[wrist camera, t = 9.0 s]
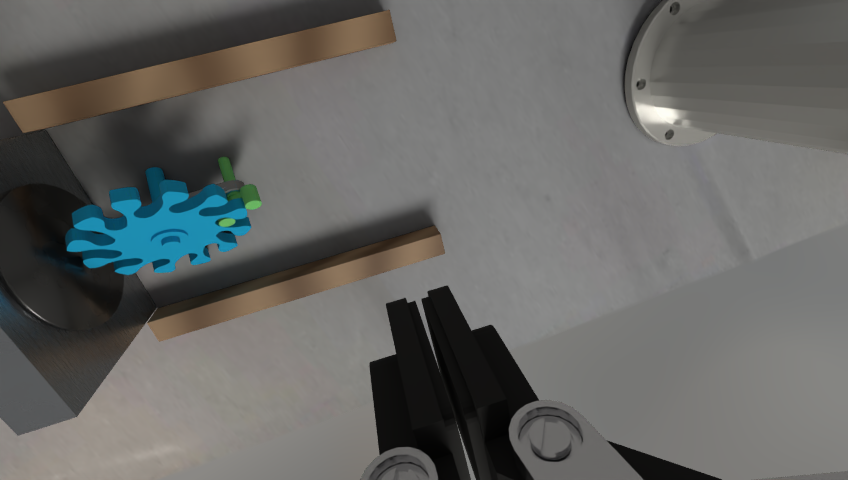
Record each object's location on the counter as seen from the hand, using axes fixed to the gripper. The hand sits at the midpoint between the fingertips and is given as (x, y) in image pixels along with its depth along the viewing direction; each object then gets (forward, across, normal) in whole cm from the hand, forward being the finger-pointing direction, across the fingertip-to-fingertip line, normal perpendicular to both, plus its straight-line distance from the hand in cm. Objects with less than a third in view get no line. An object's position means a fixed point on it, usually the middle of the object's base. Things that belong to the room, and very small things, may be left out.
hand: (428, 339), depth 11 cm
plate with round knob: (+22, +22, 0) cm, 31 cm away
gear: (+22, +13, 0) cm, 26 cm away
